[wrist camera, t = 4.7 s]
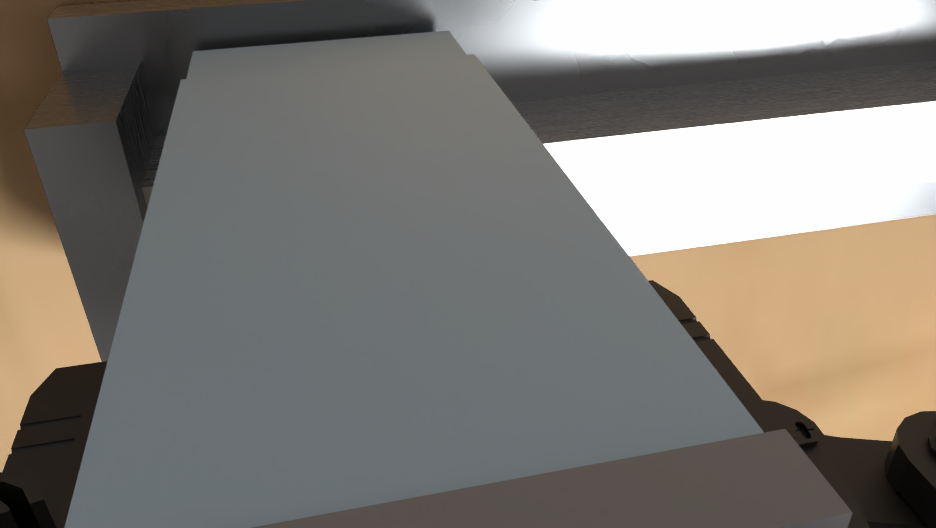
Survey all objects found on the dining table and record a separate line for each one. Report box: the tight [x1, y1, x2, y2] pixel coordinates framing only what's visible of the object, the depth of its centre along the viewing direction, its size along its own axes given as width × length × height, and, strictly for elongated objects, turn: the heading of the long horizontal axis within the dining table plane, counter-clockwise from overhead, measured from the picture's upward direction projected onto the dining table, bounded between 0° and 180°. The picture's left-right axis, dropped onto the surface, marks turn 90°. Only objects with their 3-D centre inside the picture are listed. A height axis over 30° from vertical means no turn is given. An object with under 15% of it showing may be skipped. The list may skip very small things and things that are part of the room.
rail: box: [24, 0, 936, 362], centre depth 18 cm, size 24×7×4 cm, turn 91°
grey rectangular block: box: [65, 31, 853, 528], centre depth 12 cm, size 5×6×13 cm
